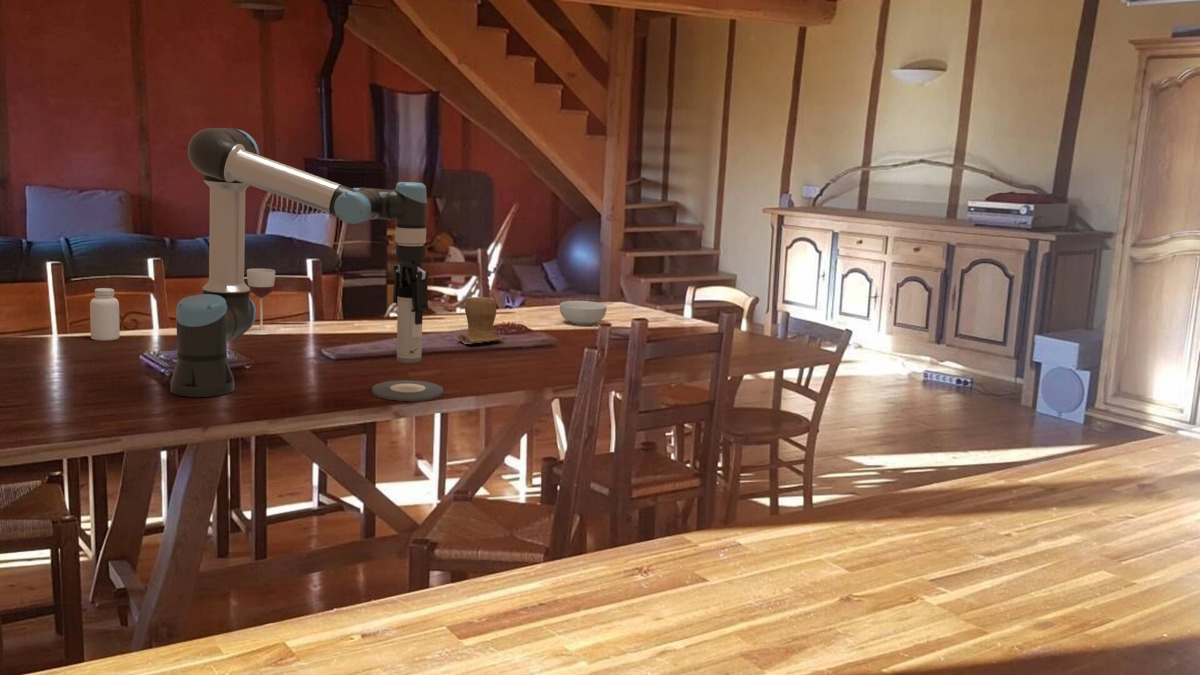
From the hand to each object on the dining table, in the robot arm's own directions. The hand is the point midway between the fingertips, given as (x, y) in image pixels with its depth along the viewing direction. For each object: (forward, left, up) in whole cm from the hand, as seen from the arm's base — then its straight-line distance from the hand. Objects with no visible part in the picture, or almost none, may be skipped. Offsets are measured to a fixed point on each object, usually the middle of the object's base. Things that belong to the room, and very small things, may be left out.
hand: (409, 334), depth 279 cm
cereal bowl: (+107, +63, -16) cm, 125 cm away
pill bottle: (-47, +99, -16) cm, 111 cm away
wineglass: (-2, +91, -16) cm, 92 cm away
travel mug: (0, 0, -7) cm, 7 cm away
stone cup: (+53, +49, -16) cm, 74 cm away
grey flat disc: (0, 0, -16) cm, 16 cm away
